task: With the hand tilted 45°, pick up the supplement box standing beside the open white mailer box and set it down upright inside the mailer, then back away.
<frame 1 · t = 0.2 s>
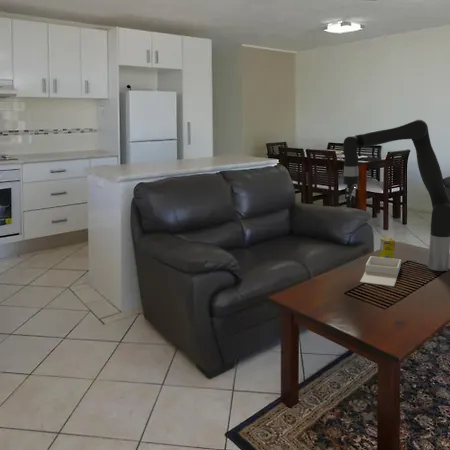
hand: (350, 205, 248), 29 cm above the table, tool pointing down, fingers open, 8 cm apart
supplement box: (386, 259, 251), on the table
mailer box: (383, 269, 235), on the table
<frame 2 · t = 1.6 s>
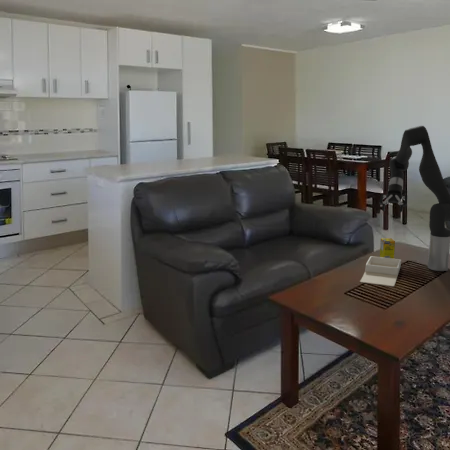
hand: (391, 211, 256), 24 cm above the table, tool tilted 45°, fingers open, 8 cm apart
nothing on the table moved.
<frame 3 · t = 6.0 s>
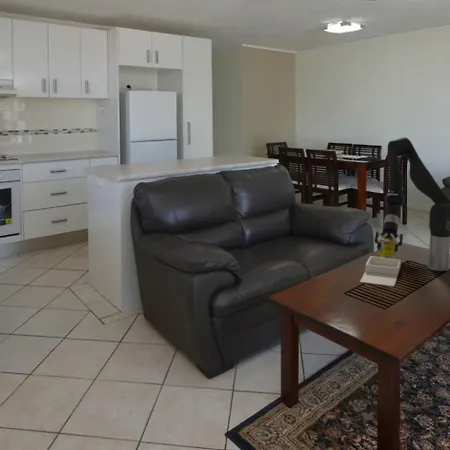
hand: (386, 250, 249), 5 cm above the table, tool tilted 45°, fingers closed on supplement box, 7 cm apart
supplement box: (386, 259, 251), on the table, touching gripper
when the fingers open (6 cm above the table, at t = 12.0 s): supplement box stays where it is, resting on mailer box.
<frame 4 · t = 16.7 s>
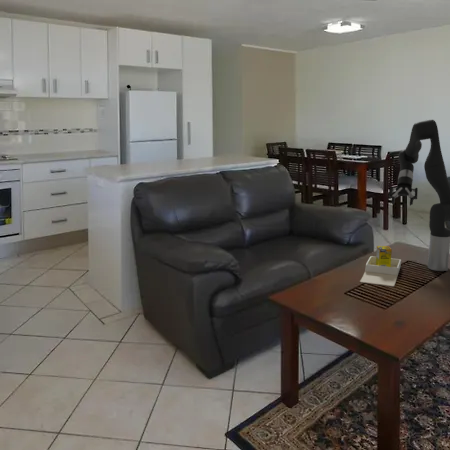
hand: (401, 204, 250), 29 cm above the table, tool tilted 45°, fingers open, 8 cm apart
supplement box: (382, 268, 235), resting on mailer box
at the end: supplement box inside the target area on the mailer box (0.4 cm from its centre), point 0.3 cm above the mailer box's base; supplement box tilted 0°; the gripper is holding nothing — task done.
